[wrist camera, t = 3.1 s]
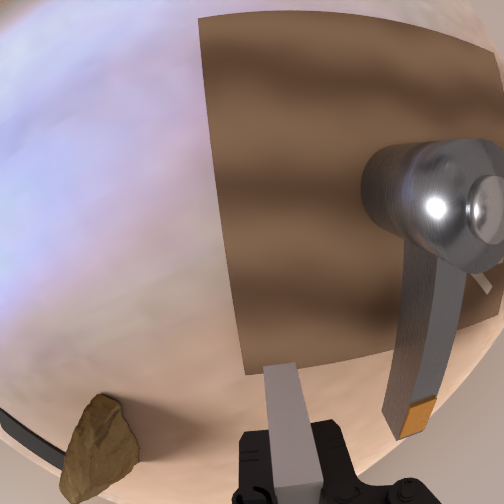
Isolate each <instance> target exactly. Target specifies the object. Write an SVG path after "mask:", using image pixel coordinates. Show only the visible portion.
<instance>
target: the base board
mask: <svg viewBox="0 0 504 504" xmlns="http://www.w3.org/2000/svg"><path fill="white" fill-rule="evenodd" d="M198 25H199V37H200V48H201V58H202V68H203V78H204V88H205V97H206V106H207V115H208V124H209V132H210V141H211V149H212V157H213V165H214V173H215V181H216V188H217V196H218V203H219V210H220V218H221V225H222V232H223V239H224V246H225V252H226V259H227V266H228V273H229V279H230V286H231V292H232V298H233V305H234V311H235V317H236V323H237V329H238V335H239V341H240V347H241V353H242V359H243V364H244V370H245V375H253V374H262V373H264V370H263V366H270V365H278V364H286V363H293V362H295V363H296V367H297V369H300V368H306V367H313V366H319V365H324V364H330V363H335V362H340V361H345V360H350V359H355V358H360V357H364V356H369V355H373V354H377V353H381V352H385V351H389V350H393V349H394V347H395V341H396V334H397V327H398V319H399V310H400V300H401V289H402V276H403V258H404V239H402V238H400V237H398V236H396V235H394V234H392V233H390V232H388V231H386V230H384V229H382V228H380V227H379V226H377V225H376V224H375V223H374V222H373V221H372V220H371V219H370V217H369V216H368V214H367V212H366V210H365V208H364V205H363V202H362V198H361V178H362V174H363V171H364V168H365V166H366V164H367V162H368V161H369V159H370V158H371V157H372V156H373V154H375V153H376V152H377V151H378V150H380V149H382V148H384V147H386V146H390V145H397V144H406V143H417V142H428V141H441V140H457V139H486V140H490V141H492V142H494V143H495V144H497V145H498V146H499V147H500V148H501V149H502V150H503V151H504V92H503V87H502V83H501V78H500V74H499V70H498V67H497V63H496V59H495V56H494V53H493V52H490V51H488V50H486V49H484V48H481V47H479V46H476V45H474V44H471V43H469V42H466V41H463V40H460V39H458V38H455V37H452V36H449V35H446V34H443V33H439V32H436V31H433V30H429V29H426V28H422V27H418V26H414V25H410V24H406V23H401V22H397V21H392V20H387V19H381V18H375V17H369V16H362V15H355V14H346V13H335V12H322V11H259V12H245V13H234V14H225V15H218V16H211V17H204V18H198ZM503 290H504V256H503V258H502V259H501V260H500V261H499V262H498V263H497V264H496V265H495V266H494V267H492V268H491V269H489V270H488V271H486V272H483V273H480V274H469V273H467V275H466V282H465V288H464V294H463V300H462V306H461V311H460V316H459V320H458V325H457V329H456V330H459V329H462V328H465V327H468V326H470V325H473V324H476V323H478V322H481V321H484V320H486V319H489V318H491V317H494V316H496V315H498V312H499V308H500V304H501V300H502V295H503Z"/></svg>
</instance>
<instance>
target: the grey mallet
mask: <svg viewBox="0 0 504 504" xmlns="http://www.w3.org/2000/svg"><path fill="white" fill-rule="evenodd" d="M361 198H362V202H363V205H364V208H365V210H366V212H367V214H368V216H369V217H370V219H371V220H372V221H373V222H374V223H375V224H376V225H377V226H379V227H380V228H382V229H384V230H386V231H388V232H390V233H392V234H394V235H396V236H398V237H400V238H402V239H404V258H403V276H402V289H401V300H400V310H399V319H398V327H397V334H396V341H395V347H394V353H393V359H392V365H391V370H390V375H389V380H388V385H387V390H386V394H385V398H384V403H383V407H382V413H383V415H384V417H385V419H386V421H387V423H388V425H389V427H390V429H391V431H392V433H393V435H394V437H395V439H396V441H398V440H400V439H403V438H406V437H409V436H412V435H414V434H417V433H419V432H422V431H423V430H424V429H425V426H426V424H427V422H428V419H429V417H430V415H431V412H432V410H433V407H434V405H435V402H436V400H437V398H436V397H437V394H438V391H439V388H440V385H441V382H442V379H443V376H444V373H445V370H446V367H447V363H448V360H449V356H450V353H451V349H452V345H453V342H454V338H455V334H456V329H457V325H458V320H459V316H460V311H461V306H462V300H463V294H464V288H465V282H466V275H467V273H469V274H480V273H483V272H486V271H488V270H489V269H491V268H492V267H494V266H495V265H496V264H497V263H498V262H499V261H500V260H501V259H502V258H503V256H504V151H503V150H502V149H501V148H500V147H499V146H498V145H497V144H495V143H494V142H492V141H490V140H486V139H457V140H441V141H428V142H417V143H406V144H397V145H390V146H386V147H384V148H382V149H380V150H378V151H377V152H376V153H375V154H373V156H372V157H371V158H370V159H369V161H368V162H367V164H366V166H365V168H364V171H363V174H362V178H361Z"/></svg>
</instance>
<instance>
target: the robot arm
mask: <svg viewBox="0 0 504 504" xmlns="http://www.w3.org/2000/svg"><path fill="white" fill-rule="evenodd" d="M263 370H264V381H265V392H266V403H267V414H268V426H269V430H259V431H248V432H244V433H243V435H242V437H241V439H240V441H239V488H238V489H237V490H236V491H235V493H234V494H233V497H232V500H231V501H232V504H441V503H440V501H439V500H438V499H437V498H436V497H435V496H434V495H433V494H432V493H431V492H430V490H429V489H428V488H427V487H426V486H425V485H424V484H423V483H422V482H421V481H420V480H418V479H415V478H404V479H401V480H399V481H397V482H396V483H395V484H394V485H385V486H372V485H368V484H365V483H363V482H361V481H360V480H359V479H358V478H357V476H356V474H355V471H354V468H353V465H352V462H351V459H350V456H349V453H348V450H347V447H346V444H345V441H344V439H343V435H342V432H341V429H340V427H339V426H338V425H337V424H336V423H335V422H334V421H333V420H332V419H330V420H325V421H320V422H314V423H310V420H309V416H308V412H307V408H306V404H305V400H304V396H303V392H302V388H301V383H300V379H299V375H298V371H297V367H296V363H295V362H293V363H286V364H278V365H270V366H263Z"/></svg>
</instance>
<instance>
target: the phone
mask: <svg viewBox="0 0 504 504" xmlns="http://www.w3.org/2000/svg"><path fill="white" fill-rule="evenodd" d="M0 424H1V427H2V428H3V430H4V431H5V432H6V433H8V434H9V435H10V436H11V437H13V438H14V439H15V440H17V441H18V442H19V443H21V444H22V445H23V446H25V447H26V448H27V449H29V450H30V451H32V452H33V453H35V454H36V455H38V456H39V457H41V458H42V459H44V460H45V461H47V462H48V463H50V464H52V465H53V466H55V467H56V468H58V469H60V470H61V471H62V469H63V465H64V457H65V454H66V453H65V452H63V451H61V450H60V449H58V448H56V447H55V446H53V445H51V444H50V443H48V442H47V441H45V440H44V439H42V438H41V437H39V436H38V435H36V434H35V433H33V432H32V431H30V430H29V429H28V428H26V427H25V426H23V425H22V424H21V423H19V422H18V421H17V420H15V419H14V418H13V417H11V416H10V415H9V414H8V413H6V412H5V411H4V410H3V409H1V408H0Z"/></svg>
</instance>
